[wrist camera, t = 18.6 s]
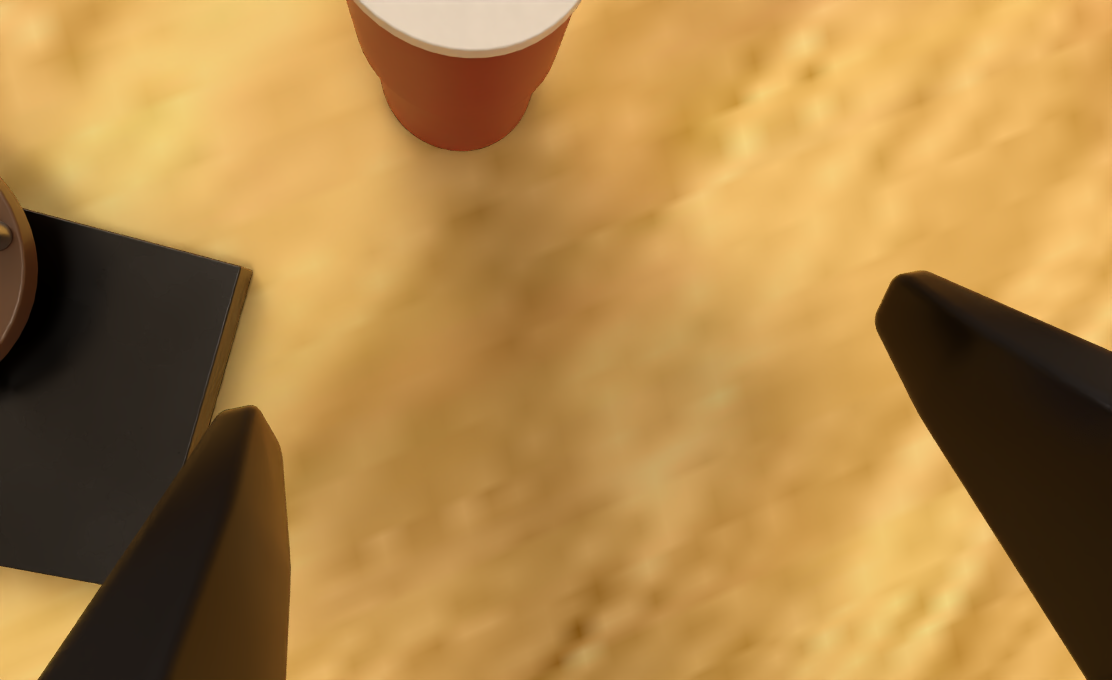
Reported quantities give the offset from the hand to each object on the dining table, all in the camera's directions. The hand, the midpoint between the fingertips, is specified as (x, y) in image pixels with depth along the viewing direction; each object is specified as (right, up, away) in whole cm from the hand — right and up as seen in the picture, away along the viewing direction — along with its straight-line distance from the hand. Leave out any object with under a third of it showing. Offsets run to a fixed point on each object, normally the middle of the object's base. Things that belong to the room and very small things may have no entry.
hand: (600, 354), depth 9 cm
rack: (-16, -1, +10) cm, 20 cm away
